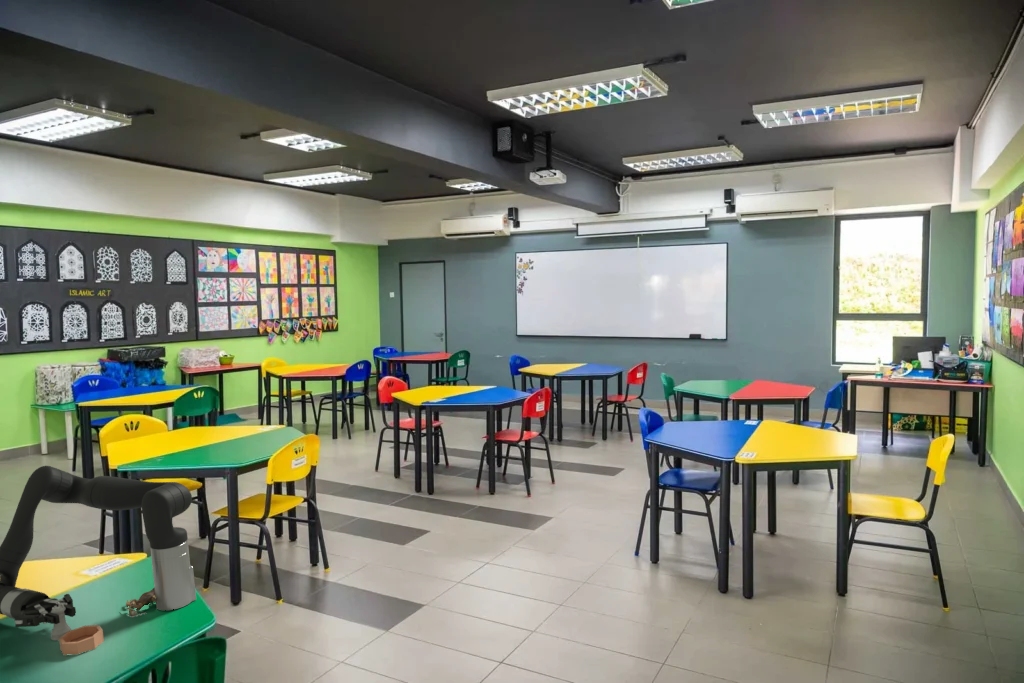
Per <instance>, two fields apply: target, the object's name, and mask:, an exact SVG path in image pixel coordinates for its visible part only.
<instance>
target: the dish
mask: <svg viewBox="0 0 1024 683" xmlns="http://www.w3.org/2000/svg"><path fill="white" fill-rule="evenodd" d="M104 641H105V640H104V630H103V628H102V627H101V626H100V625H99V624H91V625H82V626H79V627H77V628H74V629H71V630H70V631H68V632H67V633H66V634H64V635H63V636H62V637H61V638H59V641H58V644H59V650H61V651H62V652H61V651H60V652H61V654H62V653H63V654H64V655H67V654H79V653H82V652H85V651H88V652H90V651H89V650H91V651H93V650H96V649H97V648H98V647H99V646H100V645H101V644H103V643H104ZM98 645H99V646H98ZM97 646H98V647H97ZM96 647H97V648H96ZM92 649H93V650H92ZM85 653H86V652H85ZM63 654H62V655H63ZM64 655H63V656H64Z"/></svg>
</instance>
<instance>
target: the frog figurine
mask: <svg viewBox="0 0 1024 683" xmlns="http://www.w3.org/2000/svg"><path fill="white" fill-rule="evenodd" d="M152 602H153V603H154V602H155V603H156V597H155V587H153V588H152V589H151V590H149V591H146V592H143V593H142V594H141V595H140V597H139V598H138V599H137V598H133V599H130V600H126V602H125V603H126V604H125V605H126V606H127V607H128V606H129V608H127V610H129V614H128V615H129V616H131V617H130V618H135V617H134V616H136V617H138V616H137V615H140V616H143V615H142V614H144V615H146V614H145V613H146V612H140V613H141V614H140V613H138V614H137V612H138V611H135V610H133V608H137V609H136V610H140V609H141V608H142V607H143V606H144V605H148V604H149V603H152ZM126 606H125V607H126ZM129 616H128V617H129Z"/></svg>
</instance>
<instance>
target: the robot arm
mask: <svg viewBox="0 0 1024 683" xmlns="http://www.w3.org/2000/svg"><path fill="white" fill-rule="evenodd" d="M41 501H45V502H49V503H53V504H81V505H83V506H86V507H90V508H95V509H98V510H103V511H104V510H106V511H127V510H128V511H129V510H134V509H141V514H142V519H143V525H144V531H145V532H144V533H145V535H146V538H147V539H148V542H149V546H150V547H149V548H150V558H151V566H152V577H153V586H154V587H155V598H156V602H155V603H156V605H155V607H156V610H159V611H163V612H164V611H165V610H166V611H173V609H174V610H177V609H180V608H183V607H186V606H188V605H189V604H191V603H192V602H194V601H197V593H196V585H195V584H196V583H195V574H194V567H193V565H191V559H190V550H189V548H190V547H189V539H188V532H187V530H186V529H185V528H184V527H179V526H177V527H176V526H174V524H173V521H172V520H173V519H172V518H175V517H178V516H179V515H182V514H183V513H184V512H185V511H187V510H188V509H189V508H190V506H191V505H192V502H193V496H192V493H191V491H190V489H189V488H188V487H187V486H186V485H184V484H182V483H180V482H176V481H146V480H140V479H139V480H137V479H131V478H123V477H117V476H110V475H100V476H96V477H92V478H85V477H81V476H78V475H74V474H72V473H70V472H67V471H65V470H62V469H59V468H57V467H54V466H50V465H42V466H39V467H38V468H36V469H35V470H33V472H32V473H31V474H30V476H29V477H28V480H27V481H26V484H25V486H24V488H23V491H22V493H21V497H20V499H19V501H18V504H17V507H16V508H15V512H14V515H13V518H12V521H11V523H10V526H9V528H8V530H7V533H6V535H5V537H4V539H3V541H2V542H1V544H0V615H1V616H6V617H8V618H9V619H11V620H14V624H15V627H16V628H20V627H21V628H22V627H23V628H25V627H26V628H28V627H38V626H40V625H41V624H47V623H48V624H52V625H54V624H58V623H60V620H59V615H58V614H54V613H51V611H52V607H54V606H57V607H58V605H59V604H61V606H62V604H63V605H64V607H66V609H65V611H64V613H65V614H66V615H65V616H67V617H71V618H73V617H74V616H76V613H77V611H76V610H77V609H76V607H75V606H74V600H73V598H72V597H71V595H70V594H69V593H66V594H64V595H63V597H62V598H52V597H50V596H49V595H48V594H47V593H45V592H42V591H38V590H33V589H29V588H28V589H27V588H21V587H18V586H17V587H16V584H17V580H18V577H19V573H20V570H21V567H22V565H23V563H25V560H26V559H27V556H28V554H29V553H30V550H31V549H32V545H33V543H34V542H33V541H34V522H35V521H34V519H35V515H36V511H37V509H38V506H39V505H40V503H41ZM154 587H153V588H154Z"/></svg>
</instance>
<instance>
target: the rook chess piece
mask: <svg viewBox="0 0 1024 683" xmlns="http://www.w3.org/2000/svg"><path fill="white" fill-rule="evenodd" d="M65 609H66V607H64V605H63V604H62V606H61V604H59V605H58V607H57V606H54V607H52V611H51V613H54V614H58V615H59V620H60V623H58V624H53V627H52V629H51V632H50V636H51V637H50V640H52V641H55V642H57V641H58V642H59V638H61V637H62V636H63V635H64V634H66V633H67V632H68V631H71V630H72V628H71V626H70V625H69V624H68V623H67V620H66V616H67V615H66V614H65V613H64V611H65Z"/></svg>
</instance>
